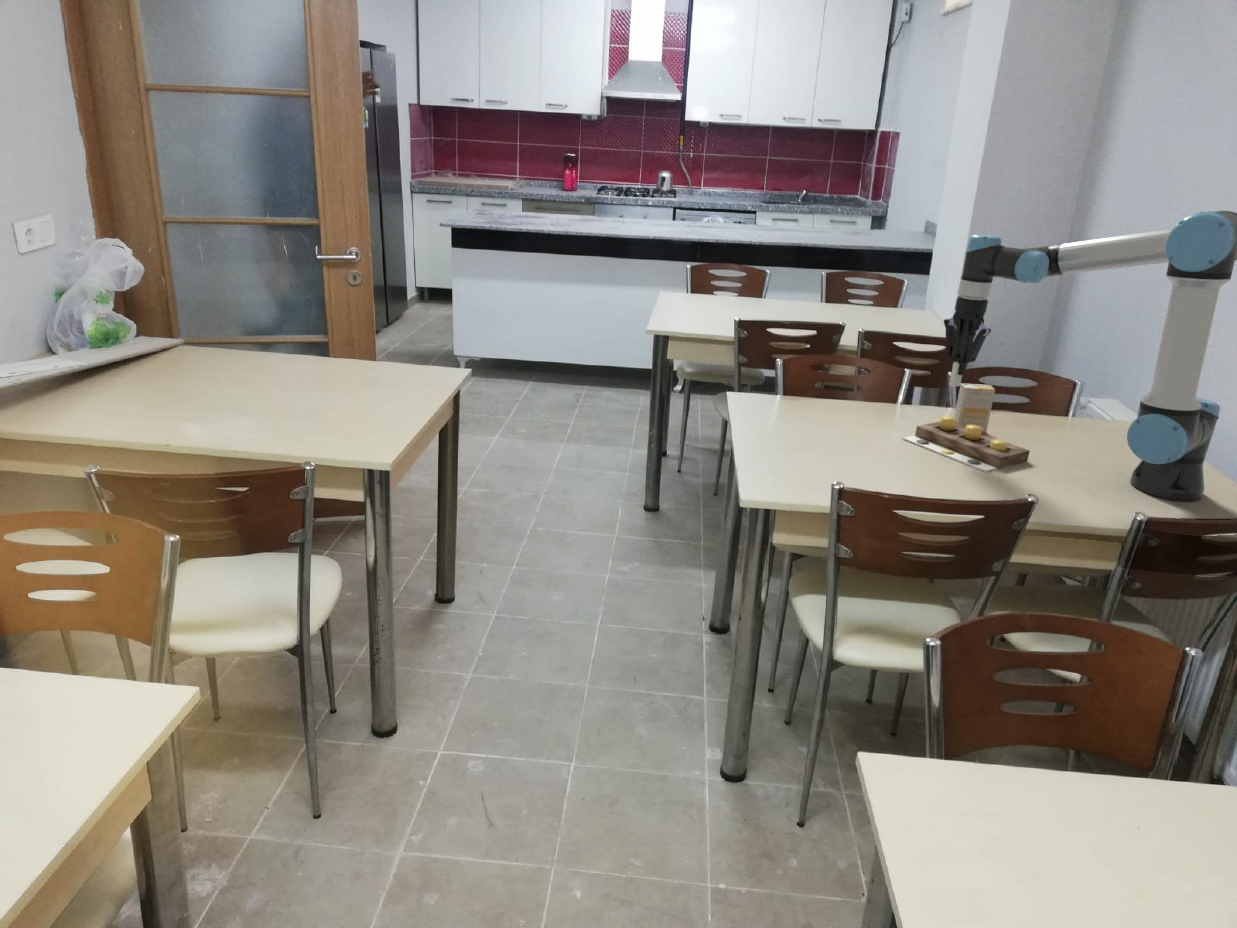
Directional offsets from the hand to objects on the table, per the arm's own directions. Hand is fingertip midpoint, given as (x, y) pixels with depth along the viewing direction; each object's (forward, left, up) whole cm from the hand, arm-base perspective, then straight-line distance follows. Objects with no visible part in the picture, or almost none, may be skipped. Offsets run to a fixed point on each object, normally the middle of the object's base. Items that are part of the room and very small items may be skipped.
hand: (954, 385), depth 232 cm
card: (-8, +9, -15) cm, 19 cm away
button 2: (-16, 0, -13) cm, 21 cm away
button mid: (-8, 0, -12) cm, 14 cm away
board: (-8, 0, -15) cm, 17 cm away
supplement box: (+2, -13, -15) cm, 20 cm away
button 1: (0, 0, -12) cm, 12 cm away
